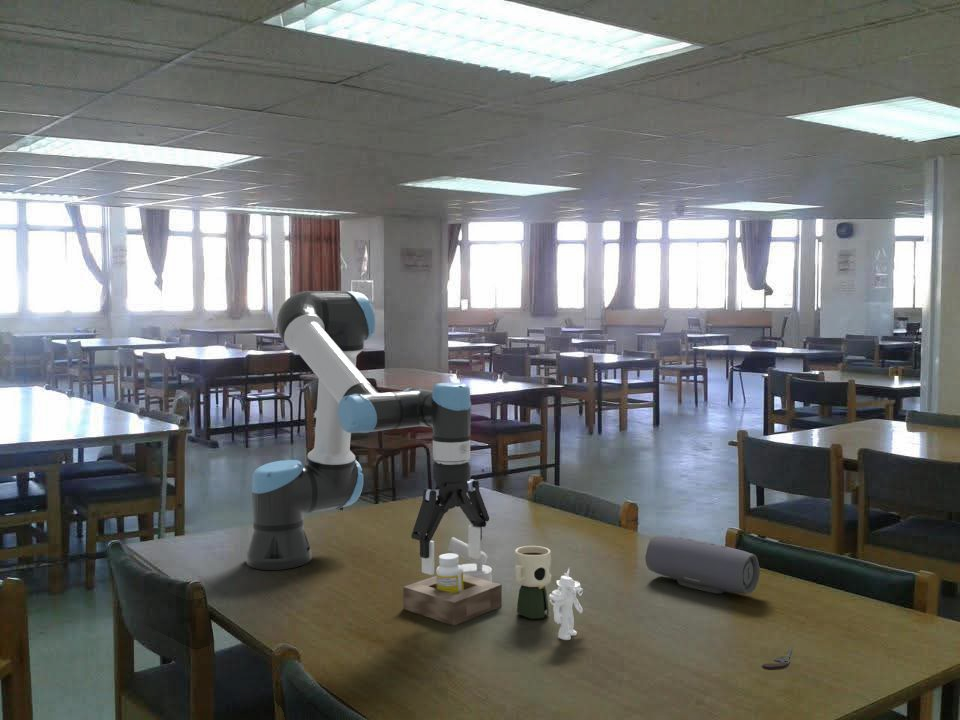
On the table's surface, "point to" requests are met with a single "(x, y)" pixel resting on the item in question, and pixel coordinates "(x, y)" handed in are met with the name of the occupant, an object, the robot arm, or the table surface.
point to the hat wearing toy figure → (566, 605)
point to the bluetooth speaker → (703, 564)
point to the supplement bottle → (449, 574)
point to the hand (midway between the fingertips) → (451, 565)
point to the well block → (452, 599)
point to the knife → (780, 665)
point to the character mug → (532, 580)
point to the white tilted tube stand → (471, 569)
